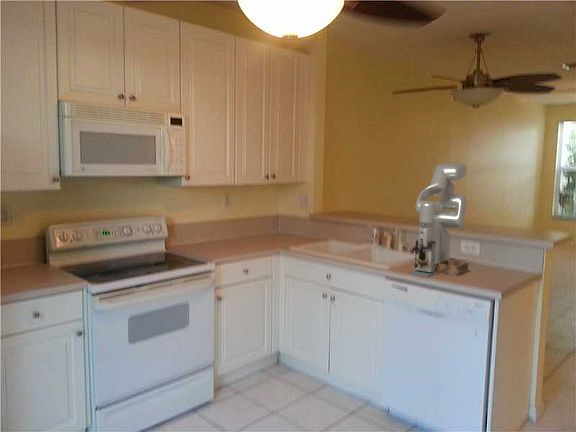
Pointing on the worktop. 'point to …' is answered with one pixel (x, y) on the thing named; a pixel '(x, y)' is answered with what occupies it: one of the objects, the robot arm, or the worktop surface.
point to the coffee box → (426, 258)
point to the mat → (423, 273)
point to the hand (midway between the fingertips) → (424, 257)
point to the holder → (452, 267)
